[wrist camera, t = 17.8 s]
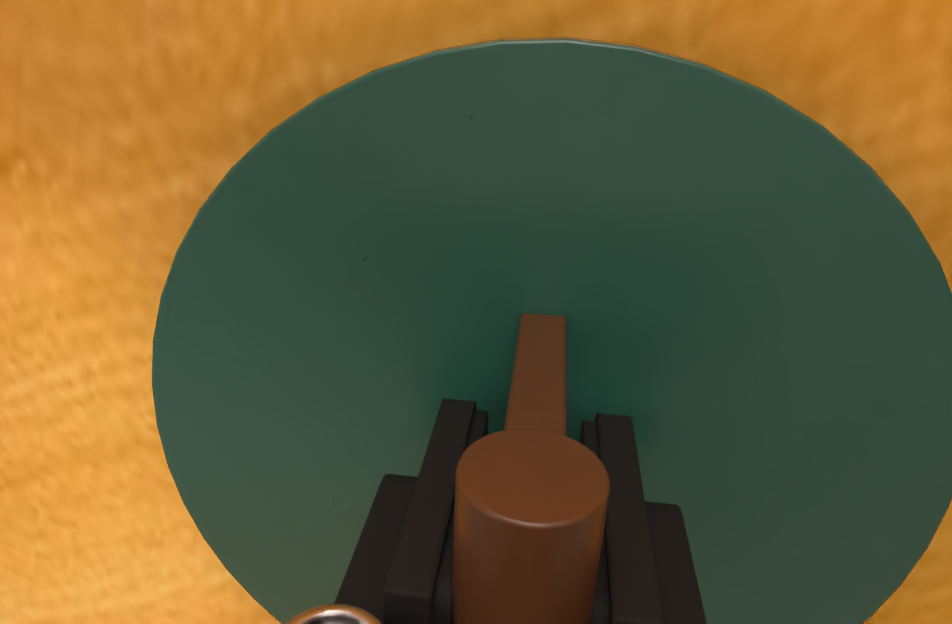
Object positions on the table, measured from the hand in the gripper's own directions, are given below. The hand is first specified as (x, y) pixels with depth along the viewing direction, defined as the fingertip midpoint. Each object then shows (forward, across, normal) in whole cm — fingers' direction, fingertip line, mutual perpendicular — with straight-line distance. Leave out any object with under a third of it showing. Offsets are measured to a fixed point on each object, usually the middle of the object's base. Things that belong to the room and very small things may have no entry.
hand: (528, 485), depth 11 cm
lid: (+1, 0, 0) cm, 1 cm away
